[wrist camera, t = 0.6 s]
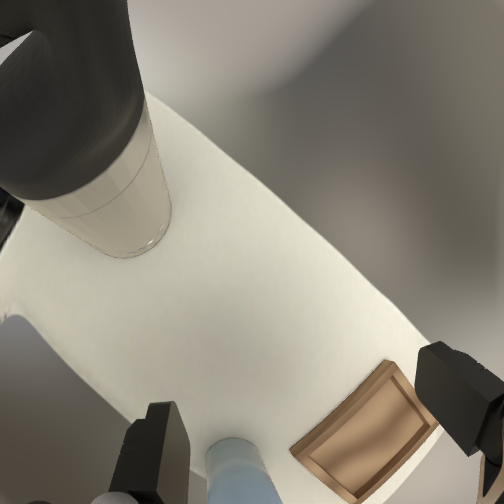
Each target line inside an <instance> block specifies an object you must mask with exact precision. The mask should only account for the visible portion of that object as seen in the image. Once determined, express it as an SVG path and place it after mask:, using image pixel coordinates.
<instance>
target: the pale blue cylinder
mask: <svg viewBox="0 0 504 504" xmlns="http://www.w3.org/2000/svg"><path fill="white" fill-rule="evenodd" d="M205 460H206V480H207V496H208V504H283V503H282V501H281V499H280V497H279V495H278V493H277V491H276V488H275V486H274V484H273V482H272V480H271V478H270V475H269V473H268V471H267V469H266V467H265V464H264V462H263V460H262V457H261V455H260V453H259V451H258V449H257V448H256V447H255V446H254V445H253V444H252V443H250V442H249V441H247V440H244V439H240V438H228V439H224V440H221V441H219V442H217V443H215V444H214V445H213V446H212V447H211V448H210V449H209V451H208V452H207V455H206V459H205Z"/></svg>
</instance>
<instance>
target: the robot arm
mask: <svg viewBox="0 0 504 504" xmlns="http://www.w3.org/2000/svg"><path fill="white" fill-rule="evenodd" d="M31 31H32V33H31V34H30V35H29V36H28V37H27V38H26V39H25V40H24V41H23V42H22V43H21V44H20V45H19V46H18V47H17V48H16V49H15V50H14V51H13V52H12V53H11V54H10V55H9V56H8V57H7V58H6V60H5V61H4V62H3V63H2V64H1V65H0V187H1V188H3V189H4V190H6V191H7V192H9V193H10V194H11V195H13V196H14V197H16V198H17V199H19V200H20V201H22V202H23V203H25V204H26V205H28V206H29V207H31V208H32V209H34V210H35V211H37V212H39V213H40V214H42V215H43V216H45V217H46V218H48V219H49V220H51V221H53V222H54V223H56V224H57V225H59V226H60V227H62V228H64V229H65V230H67V231H68V232H70V233H72V234H73V235H75V236H77V237H78V238H80V239H81V240H83V241H85V242H86V243H88V244H89V245H91V246H93V247H95V248H96V249H98V250H100V251H101V252H103V253H105V254H107V255H110V256H113V257H118V258H128V257H135V256H137V255H140V254H143V253H145V252H146V251H148V250H149V249H151V248H152V247H153V246H154V245H155V244H157V243H158V242H159V241H160V239H161V238H162V236H163V235H164V233H165V232H166V229H167V227H168V225H169V221H170V216H171V202H170V198H169V193H168V190H167V185H166V181H165V177H164V173H163V169H162V166H161V162H160V158H159V153H158V149H157V145H156V141H155V137H154V133H153V128H152V124H151V120H150V116H149V112H148V107H147V103H146V98H145V94H144V89H143V84H142V81H141V76H140V71H139V67H138V64H137V59H136V55H135V50H134V46H133V40H132V34H131V28H130V21H129V15H128V6H127V0H0V48H1V47H3V46H4V45H6V44H8V43H10V42H12V41H13V40H15V39H17V38H19V37H20V36H23V35H25V34H27V33H29V32H31ZM415 393H416V396H417V398H418V399H419V401H420V402H421V403H422V404H423V405H424V406H425V408H426V409H427V410H428V411H429V412H430V413H431V414H432V416H433V417H434V418H435V419H436V420H437V421H438V422H439V424H440V425H441V426H442V427H443V428H444V429H445V430H446V432H447V433H448V434H449V435H450V436H451V437H452V439H453V440H454V441H455V442H456V443H457V444H458V446H459V447H460V448H461V449H462V450H463V451H464V453H465V454H466V455H467V456H468V457H469V456H471V455H473V454H474V453H476V452H478V451H479V450H481V451H482V452H483V455H482V457H481V463H480V478H479V487H478V496H477V503H476V504H504V382H503V381H502V380H501V379H500V378H498V377H497V376H496V375H494V374H493V373H492V372H490V371H489V370H488V369H485V367H484V366H483V365H481V364H480V363H477V361H476V360H474V359H473V358H472V357H471V356H469V355H468V354H466V353H463V352H460V351H457V350H453V349H451V348H450V347H449V346H447V345H446V344H445V343H443V342H441V341H438V342H436V343H433V344H430V345H427V346H424V347H422V348H420V350H419V353H418V361H417V369H416V377H415ZM123 443H124V445H122V448H121V451H120V453H121V455H119V458H118V461H117V464H116V468H115V471H114V474H113V478H112V481H111V485H110V488H109V491H108V493H105V494H102V495H100V496H99V497H97V498H96V499H95V500H94V501H92V503H91V504H187V503H188V484H189V468H190V442H189V438H188V435H187V432H186V429H185V427H184V424H183V421H182V419H181V416H180V413H179V411H178V408H177V405H176V403H175V402H174V401H168V402H156V403H150V404H149V406H148V410H147V414H146V417H145V419H136V420H135V422H134V423H133V424H132V425H131V426H130V427H129V428H128V430H127V432H126V435H125V439H124V441H123ZM28 504H50V503H48V502H45V501H34V502H30V503H28Z"/></svg>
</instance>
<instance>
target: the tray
mask: <svg viewBox="0 0 504 504" xmlns="http://www.w3.org/2000/svg"><path fill="white" fill-rule="evenodd" d="M438 425H439V423H438V422H437V420H436V419H435V418H434V417H433V416H432V414H431V413H430V412H429V411H428V410H427V409H426V408H425V406H424V405H423V404H422V403H421V402H420V401H419V399H418V398H417V396H416V393H415V389H414V388H413V386H412V385H411V384H410V382H409V381H408V380H407V378H406V377H405V375H404V374H403V373H402V371H401V370H400V369H399V367H398V366H397V365H396V363H395V362H393V361H389V360H384V361H383V362H382V363H381V364H380V365H379V366H378V367H377V368H376V369H375V370H374V371H373V373H372V374H371V375H370V376H369V377H368V378H367V379H366V380H365V381H364V382H363V383H362V384H361V385H360V386H359V387H358V388H357V389H356V390H355V391H354V392H353V393H352V394H351V395H350V396H349V397H348V398H347V399H346V400H345V401H344V402H343V403H342V404H341V405H340V406H339V407H337V408H336V409H335V410H334V411H333V412H332V413H331V414H330V415H329V416H328V417H327V418H326V419H324V420H323V421H322V422H321V423H320V424H319V425H318V426H317V427H315V428H314V429H313V430H312V431H311V432H310V433H308V434H307V435H306V436H305V437H304V438H303V439H301V440H300V441H299V442H298V443H297V444H295V445H294V446H293V447H292V448H290V449H289V450H290V452H291V453H292V455H293V456H294V457H295V458H296V459H297V460H298V461H299V462H300V463H301V464H302V465H304V466H305V467H306V468H307V469H308V470H309V471H310V472H311V473H313V474H314V475H315V476H316V477H317V478H318V479H320V480H321V481H322V482H323V483H324V484H326V485H327V486H328V487H329V488H330V489H332V490H333V491H334V492H335V493H336V494H338V495H339V496H340V497H341V498H343V499H344V500H345V501H346V502H348V503H349V504H361V503H362V502H364V501H365V500H366V499H367V498H368V497H369V496H371V495H372V494H373V493H374V492H375V491H376V490H377V489H378V488H380V487H381V486H382V485H383V484H384V483H385V482H386V481H387V480H388V479H389V478H390V477H391V476H392V475H393V474H394V473H395V472H396V471H397V470H398V469H399V468H400V467H401V466H402V465H403V464H404V463H405V462H406V461H407V460H408V459H409V458H410V457H411V456H412V455H413V454H414V453H415V452H416V451H417V449H418V448H419V447H420V446H421V445H422V444H423V443H424V442H425V441H426V439H427V438H428V437H429V436H430V435H431V434H432V432H433V431H434V430H435V429H436V428H437V426H438Z"/></svg>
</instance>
